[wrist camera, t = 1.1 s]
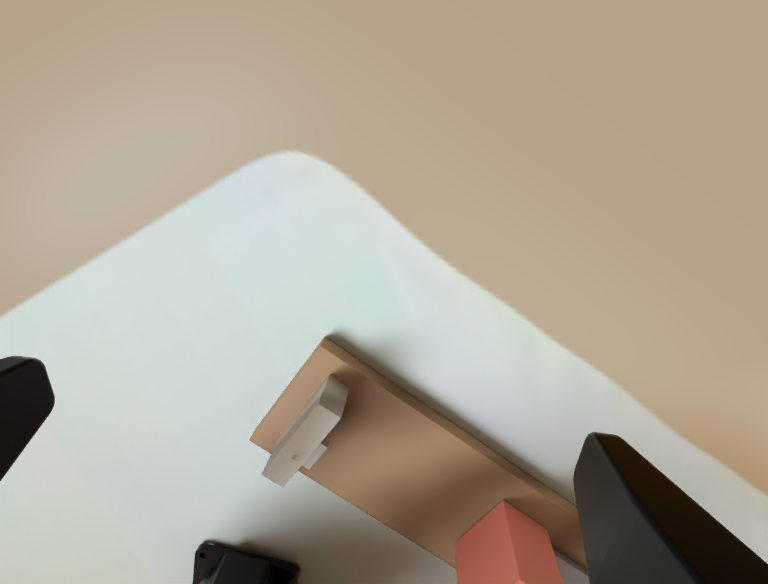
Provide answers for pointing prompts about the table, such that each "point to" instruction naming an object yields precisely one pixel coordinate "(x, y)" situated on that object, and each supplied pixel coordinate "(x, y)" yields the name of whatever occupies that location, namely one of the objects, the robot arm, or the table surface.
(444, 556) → the plank
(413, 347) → the table surface
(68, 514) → the table surface
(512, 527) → the tab
